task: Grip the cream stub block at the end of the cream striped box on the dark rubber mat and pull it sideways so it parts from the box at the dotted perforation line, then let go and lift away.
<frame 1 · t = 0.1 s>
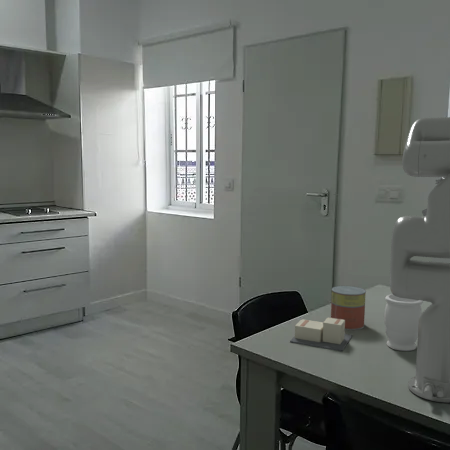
hand: (449, 238, 157), 31 cm above the table, tool pointing down, fingers open, 9 cm apart
canned food: (347, 324, 169), on the table
cream striped box: (310, 337, 156), resting on mat
mat: (321, 339, 155), on the table
jar: (401, 346, 149), on the table
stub: (333, 330, 152), point 4 cm above the table, slide at 0.0 cm
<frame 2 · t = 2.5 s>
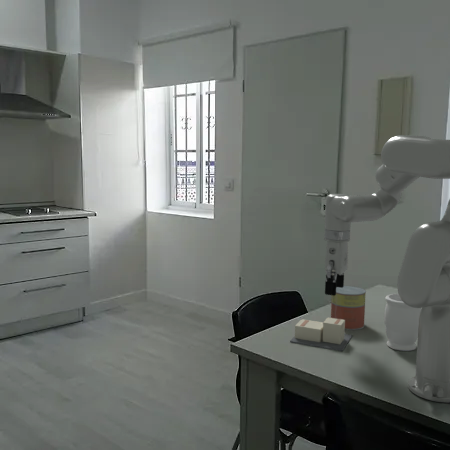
hand: (334, 290, 151), 16 cm above the table, tool pointing down, fingers open, 9 cm apart
nothing on the table moved.
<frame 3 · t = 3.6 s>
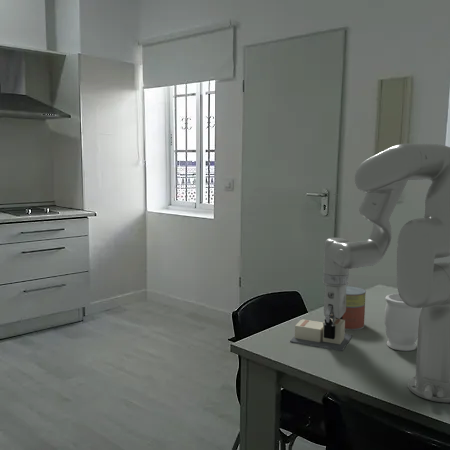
hand: (333, 333, 153), 3 cm above the table, tool pointing down, fingers open, 9 cm apart
nothing on the table moved.
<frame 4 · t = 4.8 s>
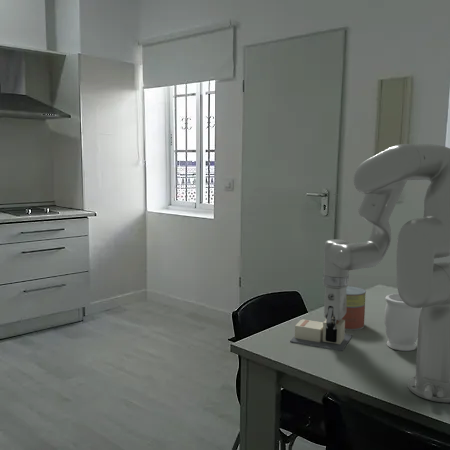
hand: (333, 337, 153), 1 cm above the table, tool pointing down, fingers closed on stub, 5 cm apart
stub: (333, 330, 152), point 4 cm above the table, slide at 0.0 cm, touching gripper
everything else where it was.
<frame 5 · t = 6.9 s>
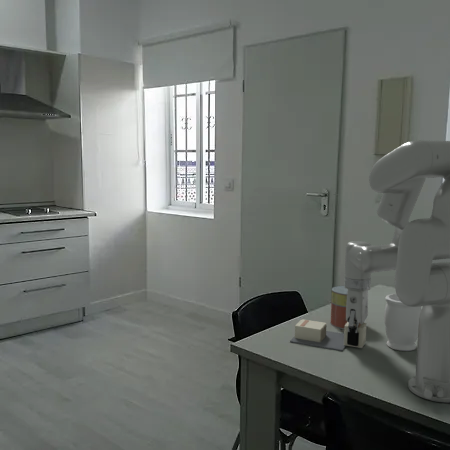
hand: (354, 341, 150), 1 cm above the table, tool pointing down, fingers closed on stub, 5 cm apart
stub: (355, 333, 150), point 4 cm above the table, slide at 6.5 cm, touching gripper
everything else where it was.
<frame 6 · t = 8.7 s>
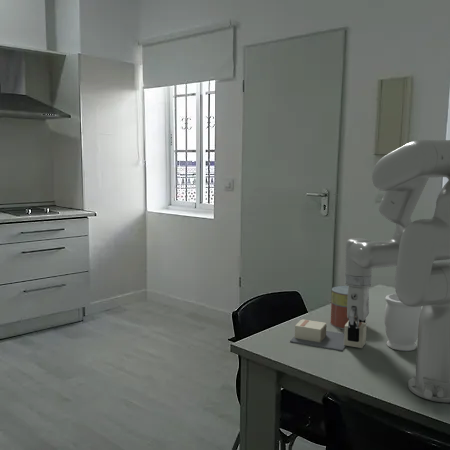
hand: (356, 336, 149), 3 cm above the table, tool pointing down, fingers open, 9 cm apart
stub: (355, 333, 150), point 4 cm above the table, slide at 6.5 cm
everything else where it was.
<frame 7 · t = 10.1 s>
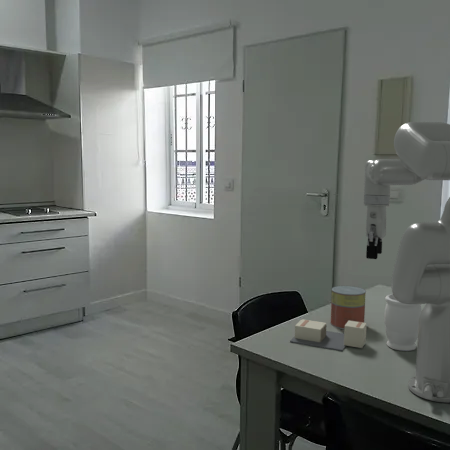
hand: (374, 255, 154), 26 cm above the table, tool pointing down, fingers open, 9 cm apart
nothing on the table moved.
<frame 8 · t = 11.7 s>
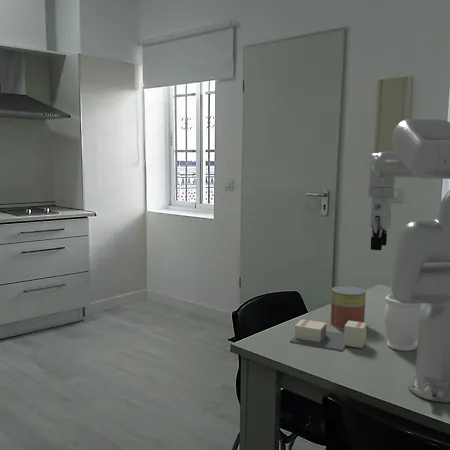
hand: (378, 247, 156), 28 cm above the table, tool pointing down, fingers open, 9 cm apart
nothing on the table moved.
at the end: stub slide at 6.5 cm; the gripper is holding nothing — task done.
